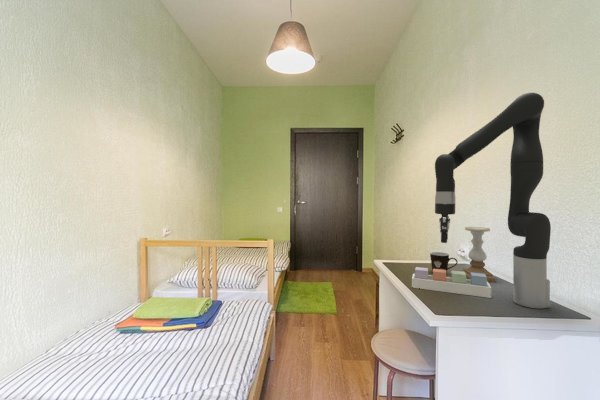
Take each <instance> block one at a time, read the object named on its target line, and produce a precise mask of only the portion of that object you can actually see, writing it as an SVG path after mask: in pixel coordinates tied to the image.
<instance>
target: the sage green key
mask: <svg viewBox="0 0 600 400" xmlns="http://www.w3.org/2000/svg"><path fill="white" fill-rule="evenodd" d="M450 271H451V272H450V273H451V275H450V278H451V282H452V283H461V284H466V273H465V272H461V271H462V270H460V271H459V270H450Z"/></svg>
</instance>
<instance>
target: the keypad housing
mask: <svg viewBox="0 0 600 400" xmlns="http://www.w3.org/2000/svg"><path fill="white" fill-rule="evenodd" d="M411 276H412V277H411V288H412V287H413V288H414V289H419V288H420V289H421V290H426V291H427V290H428V291H435V292H442V293H443V292H444V293H450V294H457V295H467V296H472V297H473V296H474V297H479V298H488V299H491V298H492V287H491V284H490V282H487V287H486V286H478V285H471V280H468V279H466V284H461V283H452V282H451V277H450V276H446V282H443V281H435V280H433V275H431V274H428V280H426V279H418V278H415V273H412V275H411ZM413 288H412V289H413Z"/></svg>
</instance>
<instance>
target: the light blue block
mask: <svg viewBox="0 0 600 400" xmlns="http://www.w3.org/2000/svg"><path fill="white" fill-rule="evenodd" d="M471 285H478V286H486V287H487V276H486V275H485V274H481V273H471Z"/></svg>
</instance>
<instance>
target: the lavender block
mask: <svg viewBox="0 0 600 400" xmlns="http://www.w3.org/2000/svg"><path fill="white" fill-rule="evenodd" d="M414 274H415V278H418V279H426V280H428V275H429V268H428V267H419V266H416V267H415V269H414Z"/></svg>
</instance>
